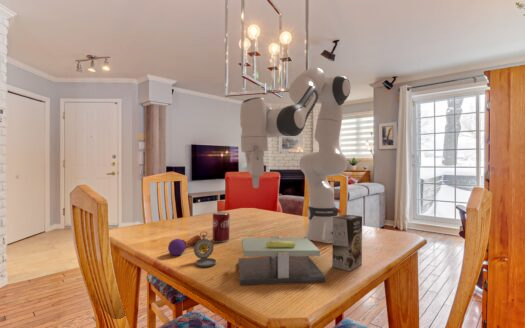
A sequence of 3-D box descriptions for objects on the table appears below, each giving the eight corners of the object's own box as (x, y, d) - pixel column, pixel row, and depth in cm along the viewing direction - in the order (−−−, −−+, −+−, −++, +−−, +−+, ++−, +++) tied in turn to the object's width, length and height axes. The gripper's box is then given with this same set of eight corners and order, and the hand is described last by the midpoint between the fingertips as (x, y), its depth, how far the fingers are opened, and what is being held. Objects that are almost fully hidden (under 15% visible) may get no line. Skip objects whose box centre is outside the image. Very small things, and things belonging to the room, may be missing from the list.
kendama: (205, 233, 120) (181, 242, 100) (202, 247, 119) (178, 259, 100) (192, 230, 121) (166, 238, 102) (189, 244, 121) (163, 255, 101)
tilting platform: (307, 242, 96) (307, 232, 96) (319, 255, 82) (320, 243, 82) (241, 242, 93) (242, 231, 93) (243, 256, 79) (243, 243, 79)
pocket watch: (206, 269, 89) (206, 237, 89) (187, 264, 94) (187, 234, 94) (223, 261, 96) (223, 232, 96) (205, 257, 101) (205, 229, 101)
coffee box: (350, 272, 87) (350, 219, 87) (331, 266, 92) (331, 217, 92) (362, 264, 94) (363, 215, 94) (344, 260, 98) (345, 213, 99)
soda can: (231, 238, 126) (231, 211, 127) (227, 243, 119) (227, 214, 119) (215, 238, 127) (215, 211, 127) (210, 242, 120) (210, 214, 120)
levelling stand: (308, 260, 98) (308, 235, 98) (325, 282, 80) (325, 251, 80) (238, 262, 95) (238, 237, 95) (240, 285, 77) (240, 254, 77)
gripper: (268, 144, 85) (269, 190, 85) (260, 147, 105) (261, 184, 105) (246, 144, 84) (248, 191, 84) (243, 147, 104) (244, 185, 104)
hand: (255, 187), depth 95 cm, fingers closed
